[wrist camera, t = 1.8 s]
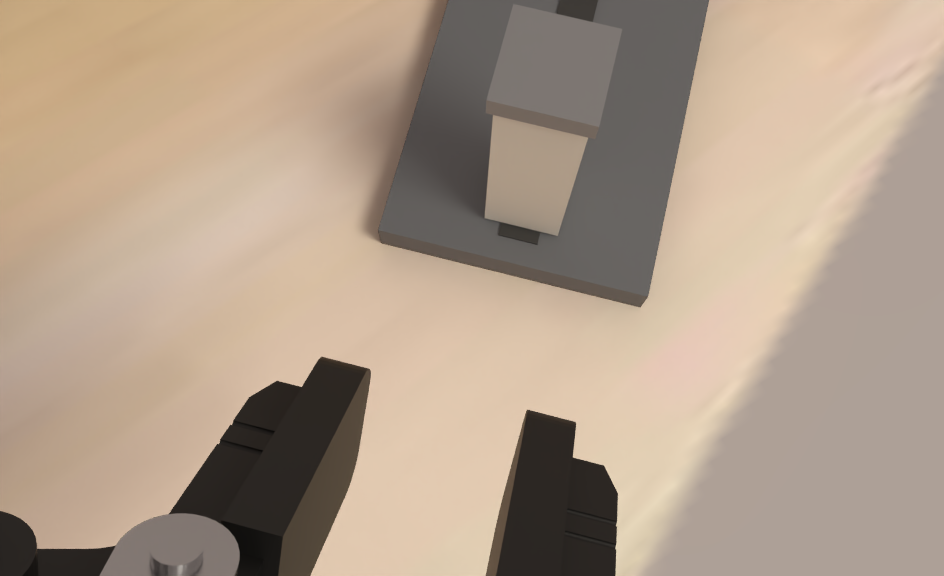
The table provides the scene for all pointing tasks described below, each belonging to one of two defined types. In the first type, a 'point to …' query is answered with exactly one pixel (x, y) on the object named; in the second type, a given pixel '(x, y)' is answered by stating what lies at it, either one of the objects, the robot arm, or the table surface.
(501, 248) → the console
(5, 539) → the robot arm
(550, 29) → the fader
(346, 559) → the table surface
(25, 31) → the table surface
